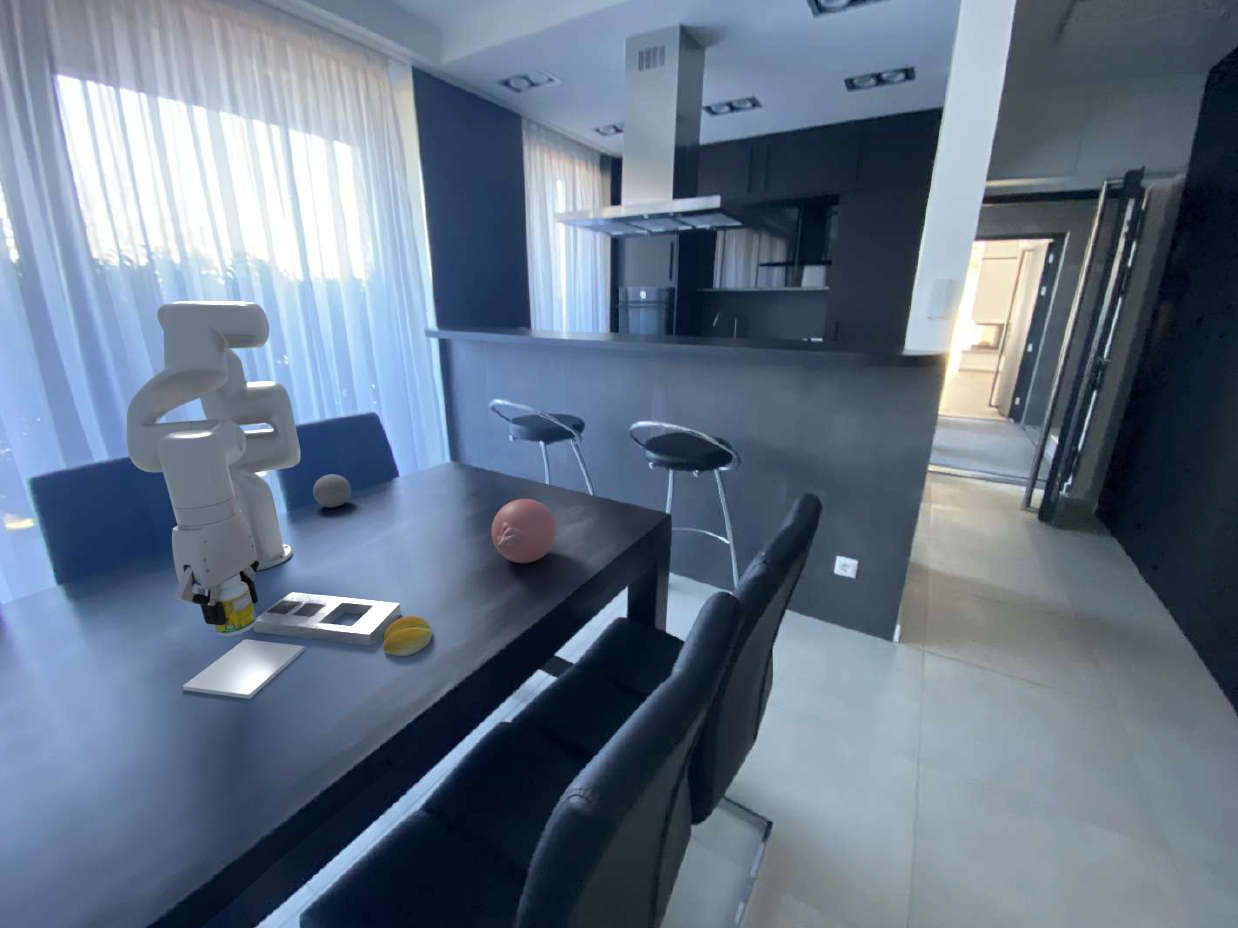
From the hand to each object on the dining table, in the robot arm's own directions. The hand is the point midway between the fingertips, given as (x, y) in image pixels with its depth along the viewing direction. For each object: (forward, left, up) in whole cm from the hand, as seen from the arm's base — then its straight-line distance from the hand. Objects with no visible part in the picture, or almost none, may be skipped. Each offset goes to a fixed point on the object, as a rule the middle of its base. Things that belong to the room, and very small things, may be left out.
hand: (232, 611), depth 83 cm
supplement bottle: (0, 0, -3) cm, 3 cm away
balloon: (+34, +43, -12) cm, 56 cm away
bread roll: (+23, +11, -12) cm, 28 cm away
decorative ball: (-33, +67, -12) cm, 76 cm away
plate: (0, 0, -11) cm, 11 cm away
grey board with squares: (+5, +14, -11) cm, 19 cm away
